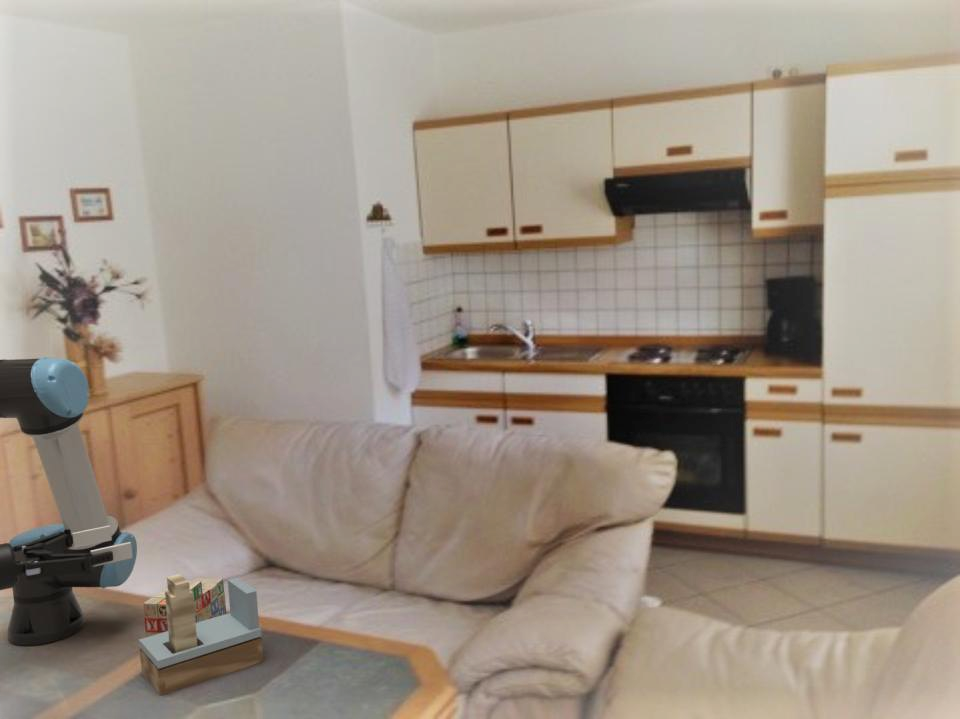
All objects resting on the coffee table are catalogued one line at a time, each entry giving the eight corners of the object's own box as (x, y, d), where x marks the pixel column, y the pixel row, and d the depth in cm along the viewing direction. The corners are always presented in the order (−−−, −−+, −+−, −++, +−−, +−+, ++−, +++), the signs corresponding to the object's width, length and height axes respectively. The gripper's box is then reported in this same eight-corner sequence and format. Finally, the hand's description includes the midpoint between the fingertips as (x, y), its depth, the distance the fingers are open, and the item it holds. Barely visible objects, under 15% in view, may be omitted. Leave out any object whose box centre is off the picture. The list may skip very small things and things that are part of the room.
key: (170, 675, 163) (162, 578, 161) (191, 668, 166) (183, 572, 164) (180, 685, 159) (171, 586, 157) (201, 678, 161) (193, 580, 159)
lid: (139, 646, 165) (135, 602, 164) (238, 617, 177) (235, 576, 176) (158, 668, 155) (154, 621, 154) (261, 636, 167) (258, 592, 166)
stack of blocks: (202, 616, 193) (197, 564, 192) (227, 618, 192) (223, 565, 190) (147, 660, 172) (142, 602, 171) (175, 662, 171) (170, 603, 170)
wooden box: (142, 676, 165) (139, 648, 165) (240, 644, 177) (238, 619, 177) (161, 699, 156) (158, 670, 155) (263, 664, 168) (261, 638, 167)
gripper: (-22, 572, 151) (104, 545, 164) (1, 613, 131) (142, 579, 144) (-26, 531, 150) (100, 507, 163) (-4, 567, 130) (138, 536, 143)
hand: (120, 541), depth 153 cm, fingers open, 13 cm apart
